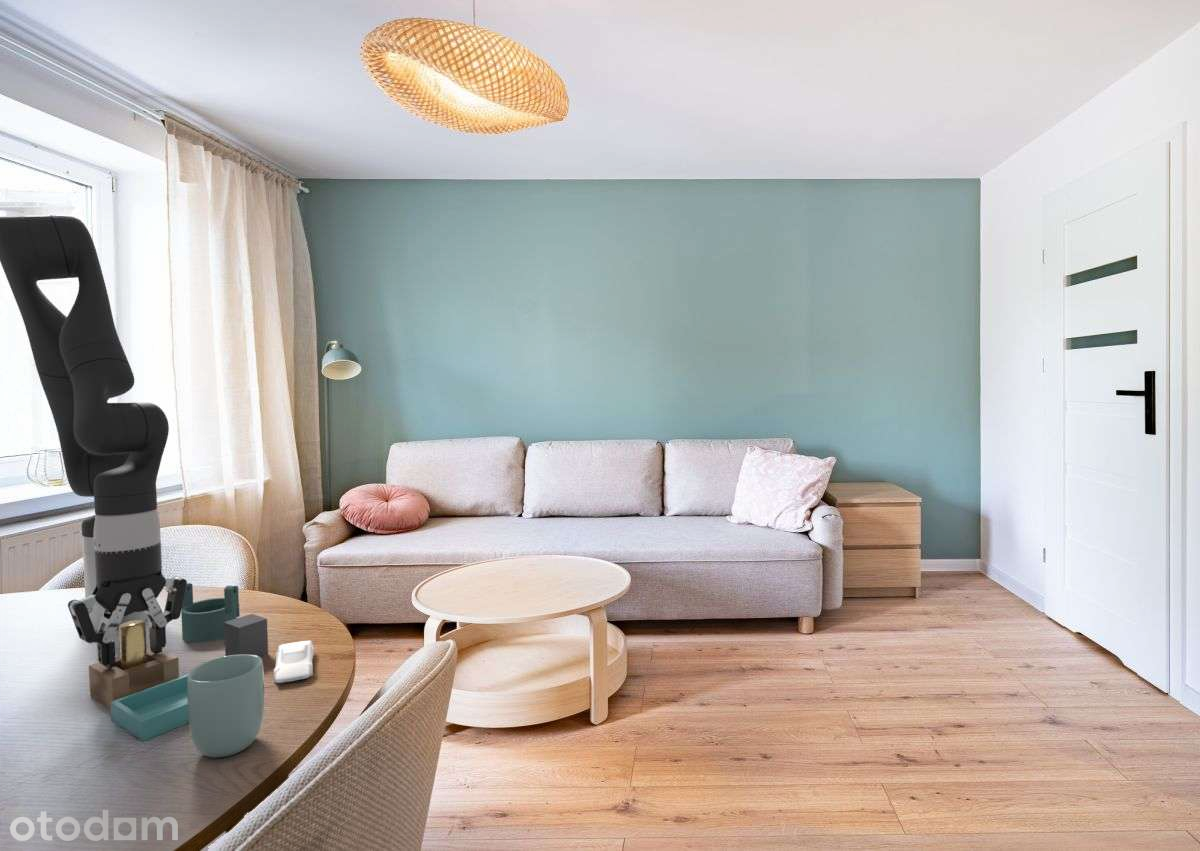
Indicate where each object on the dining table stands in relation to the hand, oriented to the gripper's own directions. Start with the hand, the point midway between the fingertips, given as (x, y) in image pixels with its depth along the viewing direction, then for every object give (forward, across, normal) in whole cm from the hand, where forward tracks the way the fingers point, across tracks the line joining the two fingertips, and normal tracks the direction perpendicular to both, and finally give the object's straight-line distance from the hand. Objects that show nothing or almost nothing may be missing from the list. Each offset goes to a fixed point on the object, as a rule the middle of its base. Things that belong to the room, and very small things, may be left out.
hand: (133, 658), depth 88 cm
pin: (+5, 0, 0) cm, 5 cm away
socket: (+5, 0, 0) cm, 5 cm away
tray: (+5, +1, -11) cm, 12 cm away
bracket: (+5, +17, +14) cm, 23 cm away
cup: (+5, 0, -26) cm, 27 cm away
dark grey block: (+5, +15, -2) cm, 16 cm away
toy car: (+6, +17, -12) cm, 21 cm away
